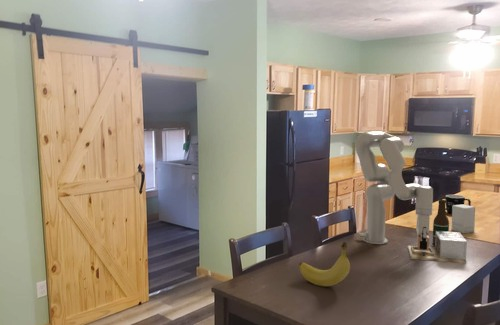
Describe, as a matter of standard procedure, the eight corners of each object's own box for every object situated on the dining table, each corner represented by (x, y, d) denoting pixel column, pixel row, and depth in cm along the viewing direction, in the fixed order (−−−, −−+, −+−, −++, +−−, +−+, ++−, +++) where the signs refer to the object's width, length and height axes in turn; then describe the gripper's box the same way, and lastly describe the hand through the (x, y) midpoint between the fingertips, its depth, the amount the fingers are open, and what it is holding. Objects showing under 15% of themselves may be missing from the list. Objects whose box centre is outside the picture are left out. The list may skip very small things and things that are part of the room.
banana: (295, 280, 173) (295, 233, 171) (303, 276, 178) (303, 230, 175) (345, 295, 159) (345, 244, 156) (352, 290, 163) (353, 240, 161)
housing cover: (440, 257, 196) (441, 239, 195) (435, 247, 211) (435, 230, 210) (465, 260, 193) (466, 241, 192) (459, 249, 208) (459, 232, 207)
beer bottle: (450, 247, 216) (452, 201, 214) (434, 246, 218) (436, 201, 215) (446, 242, 224) (448, 198, 221) (430, 241, 225) (432, 198, 223)
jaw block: (417, 249, 204) (418, 237, 203) (416, 246, 208) (417, 234, 208) (428, 249, 202) (429, 237, 202) (427, 246, 207) (427, 235, 206)
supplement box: (474, 231, 244) (476, 206, 243) (463, 233, 241) (464, 208, 239) (461, 228, 253) (463, 203, 251) (450, 229, 249) (451, 205, 248)
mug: (436, 211, 298) (437, 194, 296) (454, 209, 302) (455, 193, 301) (454, 216, 282) (454, 199, 281) (472, 214, 287) (473, 197, 286)
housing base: (410, 258, 199) (411, 253, 199) (407, 247, 216) (407, 242, 216) (466, 263, 192) (466, 257, 192) (458, 251, 209) (458, 246, 209)
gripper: (413, 207, 213) (412, 241, 215) (417, 214, 196) (416, 252, 198) (429, 207, 211) (428, 242, 212) (434, 215, 194) (433, 253, 196)
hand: (422, 246), depth 205 cm, fingers closed on jaw block, 5 cm apart
